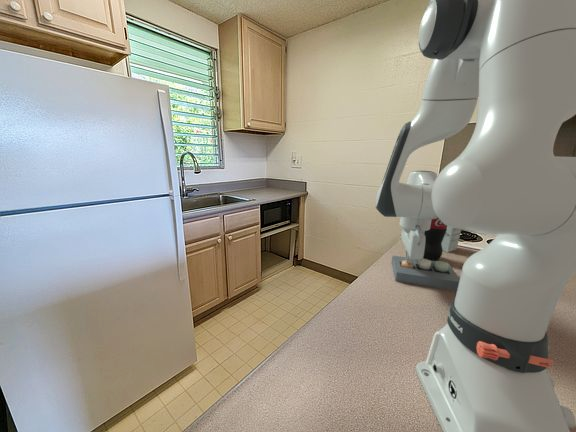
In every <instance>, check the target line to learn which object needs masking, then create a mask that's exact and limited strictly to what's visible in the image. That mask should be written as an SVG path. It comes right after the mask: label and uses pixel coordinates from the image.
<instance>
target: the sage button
mask: <svg viewBox="0 0 576 432" xmlns="http://www.w3.org/2000/svg"><path fill="white" fill-rule="evenodd" d="M435 261H436V263H435V269H436V270H438V271H440V272H447V271H448V266H449V265H450V263H449V262H446V261H443V260H435ZM448 263H449V264H448Z"/></svg>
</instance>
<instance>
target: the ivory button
mask: <svg viewBox="0 0 576 432" xmlns="http://www.w3.org/2000/svg"><path fill="white" fill-rule="evenodd" d="M431 261H432V260H427V259H424V258H423V259H422V260H419V262H418V267H420V268H422V269H430V266H431Z"/></svg>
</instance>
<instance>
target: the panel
mask: <svg viewBox="0 0 576 432" xmlns="http://www.w3.org/2000/svg"><path fill="white" fill-rule="evenodd" d="M405 257H406V256H401V255H400V256H399V255H392V256H391V267H392V272H393V275H394V280H395V282H401V283H406V284H413V285H418V286H423V287H424V286H425V287H431V288H437V289H443V290H448V291H454V292H457V289H458V285H459V280H460V276H458V274H457V273H456V272H455V271H454V268H452V266H451V265H450V263H449V262H447V263H448V264H449V266H448V271H447V272H440V271H438V270H436V269H435V263H436V261H437V260H430V261H431V266H430V269H422V268H420V267H418V262H419V260H415V259H413V263H414V265H413V268H406V267H401V264H402V261H403V260H406V259H405Z"/></svg>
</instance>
